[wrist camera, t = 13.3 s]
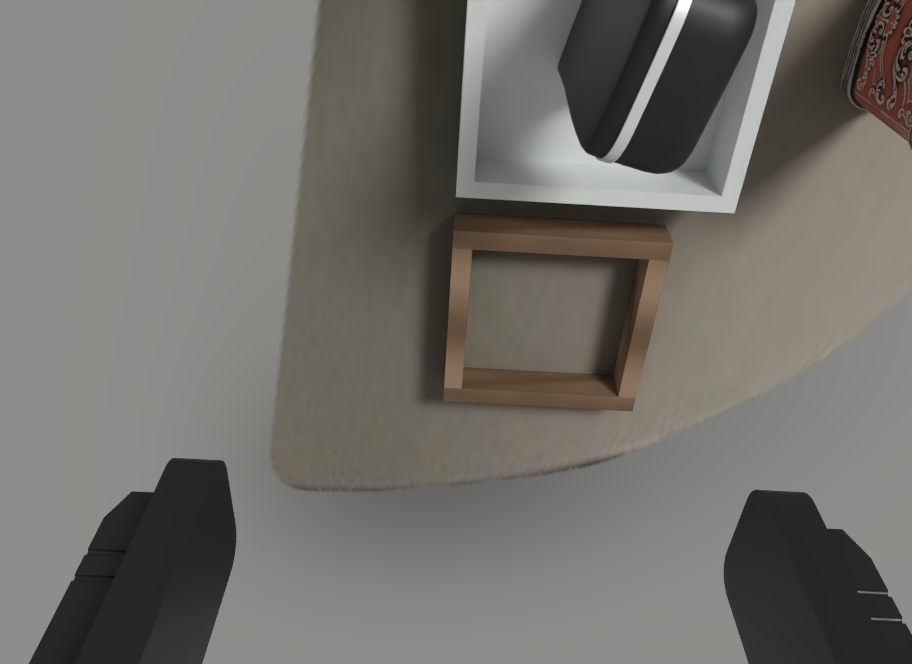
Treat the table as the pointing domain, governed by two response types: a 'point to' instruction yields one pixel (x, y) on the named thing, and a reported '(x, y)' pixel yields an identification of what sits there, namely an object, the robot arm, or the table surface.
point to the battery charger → (650, 75)
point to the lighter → (882, 64)
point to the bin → (551, 129)
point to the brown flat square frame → (560, 239)
